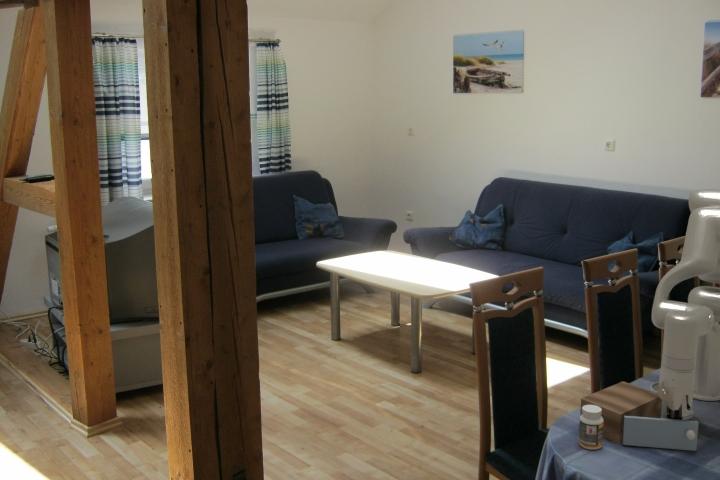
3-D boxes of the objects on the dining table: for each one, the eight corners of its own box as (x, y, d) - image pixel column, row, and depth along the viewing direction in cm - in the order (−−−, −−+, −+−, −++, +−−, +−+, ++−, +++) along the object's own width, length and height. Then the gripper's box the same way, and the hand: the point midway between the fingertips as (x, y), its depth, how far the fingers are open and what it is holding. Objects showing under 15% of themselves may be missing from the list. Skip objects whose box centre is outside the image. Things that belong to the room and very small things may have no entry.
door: (623, 447, 183) (625, 420, 182) (622, 442, 186) (624, 415, 184) (697, 453, 179) (699, 425, 178) (695, 448, 182) (697, 421, 180)
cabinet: (621, 408, 206) (623, 381, 204) (660, 423, 196) (662, 395, 194) (579, 426, 195) (581, 398, 194) (618, 443, 186) (620, 414, 184)
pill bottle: (603, 451, 182) (605, 414, 180) (579, 449, 184) (581, 412, 181) (601, 440, 188) (602, 404, 186) (577, 438, 189) (579, 402, 187)
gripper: (651, 350, 188) (647, 417, 192) (675, 373, 173) (670, 445, 177) (681, 349, 188) (676, 416, 192) (708, 372, 173) (702, 444, 177)
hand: (673, 430), depth 185 cm, fingers closed
